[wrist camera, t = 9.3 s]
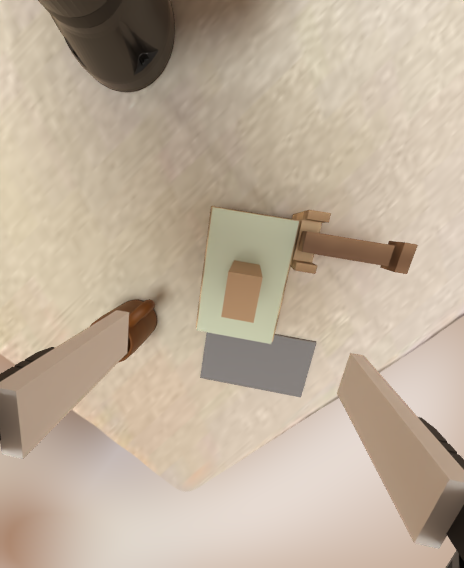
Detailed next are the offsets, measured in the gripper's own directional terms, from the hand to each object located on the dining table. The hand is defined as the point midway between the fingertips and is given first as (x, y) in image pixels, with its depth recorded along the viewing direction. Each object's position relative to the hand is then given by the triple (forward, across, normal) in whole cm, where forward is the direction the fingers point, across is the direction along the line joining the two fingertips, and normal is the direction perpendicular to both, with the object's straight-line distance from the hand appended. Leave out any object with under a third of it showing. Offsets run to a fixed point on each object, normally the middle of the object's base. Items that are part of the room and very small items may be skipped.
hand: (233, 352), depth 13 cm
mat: (+27, +5, -17) cm, 32 cm away
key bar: (+18, +12, +6) cm, 23 cm away
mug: (+27, -17, -11) cm, 34 cm away
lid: (+20, 0, 0) cm, 20 cm away
